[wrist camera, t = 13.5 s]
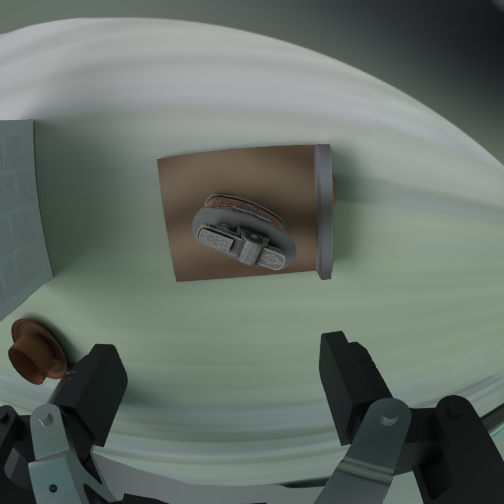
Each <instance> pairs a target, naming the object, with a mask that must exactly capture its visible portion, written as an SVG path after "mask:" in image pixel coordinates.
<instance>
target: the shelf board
mask: <svg viewBox="0 0 504 504" xmlns="http://www.w3.org/2000/svg"><path fill="white" fill-rule="evenodd" d="M157 161H158V170H159V178H160V186H161V193H162V200H163V207H164V214H165V220H166V227H167V233H168V239H169V244H170V250H171V256H172V261H173V266H174V271H175V276H176V281H177V282H180V281H195V280H209V279H222V278H235V277H247V276H259V275H271V274H282V273H293V272H304V271H314V270H316V271H317V273H318V274H319V276H320V278H321V280H327V279H331V271H332V266H333V205H335V179H332V159H331V150H330V144H318V145H292V146H272V147H257V148H244V149H233V150H223V151H214V152H205V153H197V154H190V155H182V156H176V157H169V158H163V159H157ZM214 193H224V194H229V195H235V196H238V197H242V198H245V199H248V200H251V201H253V202H255V203H258V204H260V205H262V206H264V207H266V208H268V209H269V210H271V211H272V212H274V213H275V214H277V215H278V216H280V217H281V218H282V220H283V222H284V224H285V230H286V232H287V234H288V235H289V236H290V237H291V238H292V239H293V241H294V243H295V245H296V249H297V253H296V257H295V259H294V261H293V262H292V264H290V265H289V266H288V267H286V268H283V269H280V270H274V269H271V268H267V267H261V266H256V265H255V266H249V265H246V264H243V263H241V262H240V261H238V260H236V259H234V258H231V257H229V256H227V255H225V254H222V253H220V252H218V251H216V250H214V249H212V248H211V247H209V246H207V245H206V244H203V243H201V242H199V241H198V240H197V238H196V237H195V236H194V234H193V231H192V222H193V219H194V217H195V215H196V214H197V212H199V211H200V210H201V209H202V208H204V206H205V202H206V201H207V199H208V198H209V197H210V196H211V195H212V194H214Z"/></svg>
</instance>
